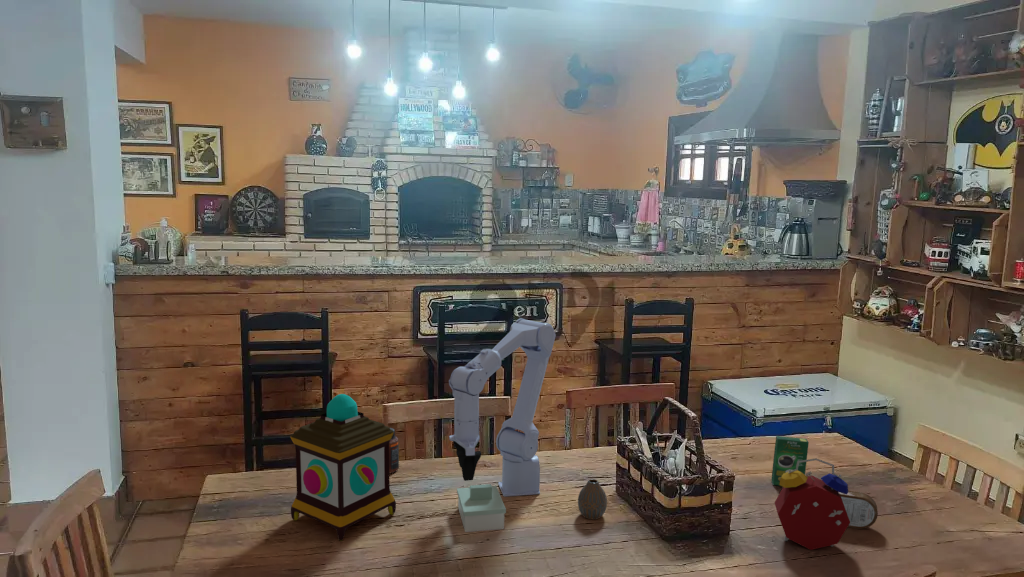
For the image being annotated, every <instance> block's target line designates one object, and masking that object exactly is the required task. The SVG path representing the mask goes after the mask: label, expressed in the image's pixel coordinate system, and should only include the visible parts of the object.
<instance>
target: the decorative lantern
mask: <svg viewBox="0 0 1024 577" xmlns="http://www.w3.org/2000/svg"><path fill="white" fill-rule="evenodd" d="M390 428H391V427H389V426H387V425H385V424H384V423H383V422H379V421H376V420H373V419H370V418H369V417H368V416H366V415H365V414H364V412H361V411H358V405H357V402H356V401H355V400H354V399H353V398H352V397H351V396H350V395H348V394H345V393H339V394H337V395H335V396H334V397H333V398H332V399H331V400H330V401H329V402H328V403H327V405H326V413H323V414H320V417H319V418H316V419H315V421H312V422H311V423H308V424H306V425H302V426H300V427H299V428H298V429H297V430H295V431H293V433H292V434H290V436H289V438H290V439H291V441H292V443H293V445H294V448H295V449H294V450H295V473H296V474H295V475H296V476H295V477H296V496H295V498H294V500H293V502H292V504H291V506H290V516H291V518H292V520H293V521H297V520H298V519H299V518H300V514H301V515H304V516H306V517H308V518H311V519H313V520H316V521H317V522H320V523H322V524H325V525H327V526H328V527H331V528H332V529H334V530H335V531H336V534H337V539H338V541H340V542H342V541H344V539H345V534H346V531H347V529H348V528H349V527H351V526H353V525H355V524H358V523H359V522H361V521H363V520H365V519H367V518H369V517H370V516H372V515H375V514H376V513H379V512H381V511H383V510H385V509H386V508H387V510H388V514H390V515H391V516H392V515H394V514H395V513H396V508H397V502H396V499H395V498H394V495H393V493H392V492H391V489H390V488H391V487H390V473H389V442H390V440H391V438H392V436H393V433H394V431H393V430H391V429H390Z"/></svg>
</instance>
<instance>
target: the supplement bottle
mask: <svg viewBox="0 0 1024 577" xmlns="http://www.w3.org/2000/svg"><path fill="white" fill-rule="evenodd" d="M389 428H390V429H391V430H393V431H394V433H393V436H392V438H391V440H390V442H389V474H392V473H395V472H397V471H398V470H399V469H400V459H399V457H400V455H399V454H400V453H399V452H400V450H399V449H400V448H399V438H398V436H396V432H395V429H394V428H392V427H389Z"/></svg>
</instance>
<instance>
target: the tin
mask: <svg viewBox="0 0 1024 577" xmlns="http://www.w3.org/2000/svg"><path fill="white" fill-rule="evenodd" d="M839 494H840V496H841V498H842V501H843V504H844V506H845V509H846V512H847V515H848V518H849V520H850V524H849V525H848V527H847V528H852V529H856V530H857V529H860V530H861V529H868V528H870V527H871V526H873V525H874V524H875V523H876V521H877V519H878V515H879V513H878V512H879V511H878V506H877V503H876V501H875V500H874V498H872V497H871V496H870V495H869V494H868V493H864V492H860V491H856V490H855V491H854V490H849V489H848V493H847V494H844V493H841V492H839Z"/></svg>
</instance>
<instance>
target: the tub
mask: <svg viewBox="0 0 1024 577" xmlns="http://www.w3.org/2000/svg"><path fill="white" fill-rule="evenodd" d="M457 500H458V503H457V506H458V507H457V508H458V512H459V516H460V519H461V521H462V522H461V523H462V526H463V529H464V532H465V533H472V532H483V531H484V532H485V531H497V530H504V529H505V513H500V514H487V515H474V516H464V514H463V511H462V508H461V504H460V501H459V497H458V499H457Z"/></svg>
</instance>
